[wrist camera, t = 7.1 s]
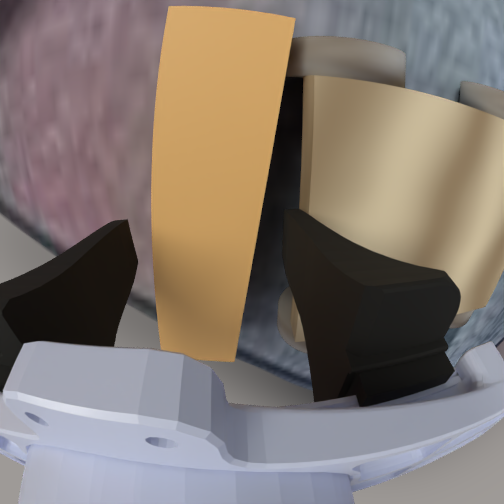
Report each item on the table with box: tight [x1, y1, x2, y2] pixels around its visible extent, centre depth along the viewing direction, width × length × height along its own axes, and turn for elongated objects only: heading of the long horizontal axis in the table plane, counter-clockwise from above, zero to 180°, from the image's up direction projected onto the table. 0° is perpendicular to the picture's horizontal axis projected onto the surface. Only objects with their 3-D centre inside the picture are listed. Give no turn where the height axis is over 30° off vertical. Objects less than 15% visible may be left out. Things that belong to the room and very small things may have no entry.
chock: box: [151, 6, 295, 362], centre depth 13 cm, size 4×16×5 cm, turn 172°
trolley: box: [277, 36, 504, 353], centre depth 13 cm, size 15×15×5 cm
